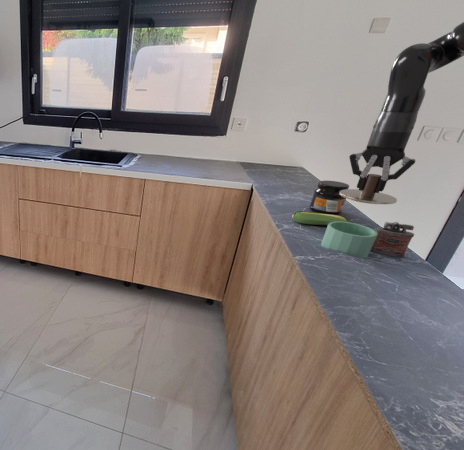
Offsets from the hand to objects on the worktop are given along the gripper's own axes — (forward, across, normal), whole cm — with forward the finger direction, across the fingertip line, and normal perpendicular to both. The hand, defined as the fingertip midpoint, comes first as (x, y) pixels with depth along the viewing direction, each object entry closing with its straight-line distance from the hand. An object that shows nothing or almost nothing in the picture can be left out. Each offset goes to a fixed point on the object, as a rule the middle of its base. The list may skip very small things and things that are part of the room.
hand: (368, 190), depth 90 cm
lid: (+2, 0, 0) cm, 2 cm away
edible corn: (+20, +10, -19) cm, 29 cm away
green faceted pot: (+20, 0, 0) cm, 20 cm away
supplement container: (+20, +13, -36) cm, 43 cm away
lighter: (+20, -8, -7) cm, 23 cm away
